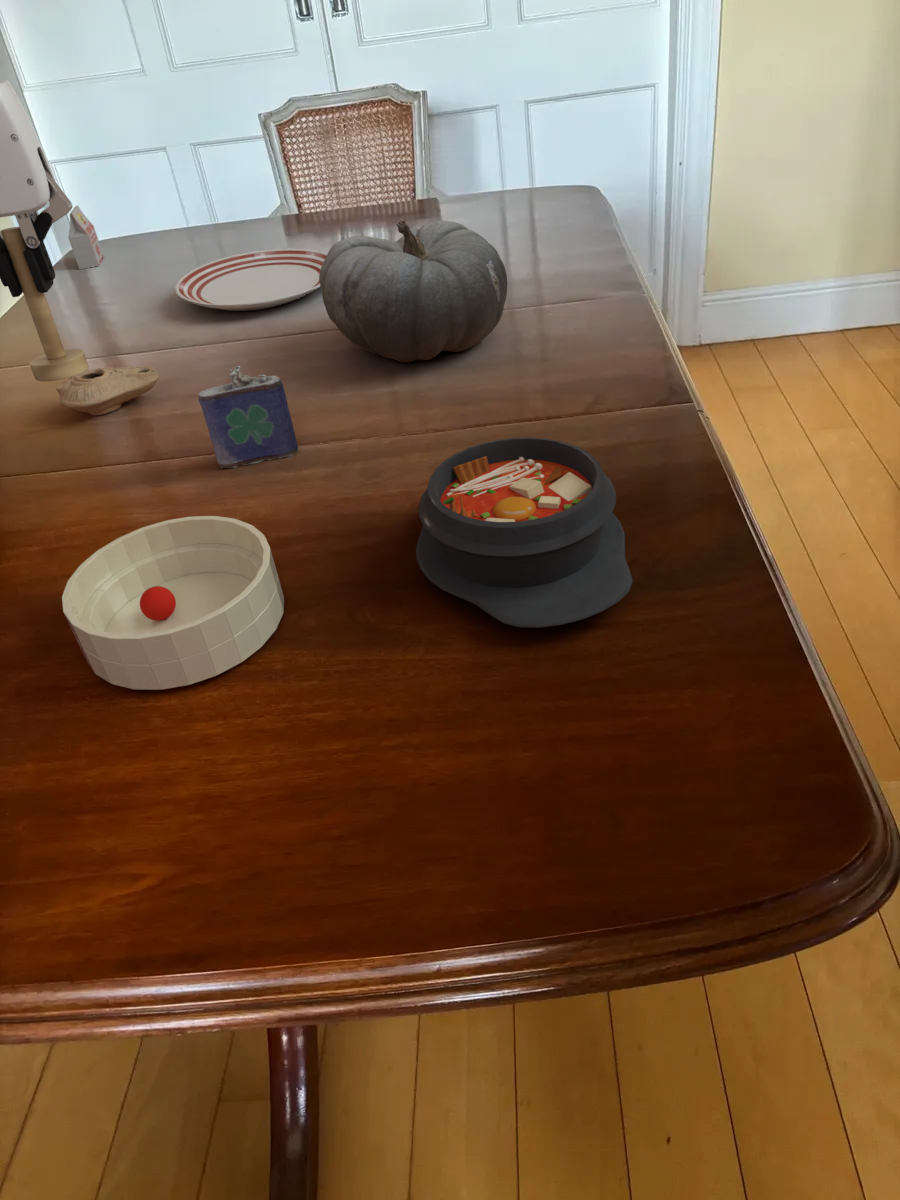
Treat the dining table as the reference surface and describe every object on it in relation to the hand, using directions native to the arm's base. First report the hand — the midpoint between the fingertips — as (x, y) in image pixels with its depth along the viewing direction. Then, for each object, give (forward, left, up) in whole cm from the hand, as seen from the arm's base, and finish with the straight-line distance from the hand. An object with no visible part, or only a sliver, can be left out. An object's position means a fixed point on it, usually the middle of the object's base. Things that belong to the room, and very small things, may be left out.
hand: (33, 288), depth 85 cm
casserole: (+41, -25, -23) cm, 53 cm away
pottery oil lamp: (-4, +24, -23) cm, 34 cm away
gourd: (+38, +30, -23) cm, 54 cm away
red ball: (+9, -26, -21) cm, 34 cm away
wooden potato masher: (0, -1, -8) cm, 8 cm away
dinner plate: (+14, +63, -23) cm, 69 cm away
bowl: (+11, -27, -23) cm, 37 cm away
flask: (+16, +3, -23) cm, 28 cm away
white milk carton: (-21, +98, -23) cm, 103 cm away
